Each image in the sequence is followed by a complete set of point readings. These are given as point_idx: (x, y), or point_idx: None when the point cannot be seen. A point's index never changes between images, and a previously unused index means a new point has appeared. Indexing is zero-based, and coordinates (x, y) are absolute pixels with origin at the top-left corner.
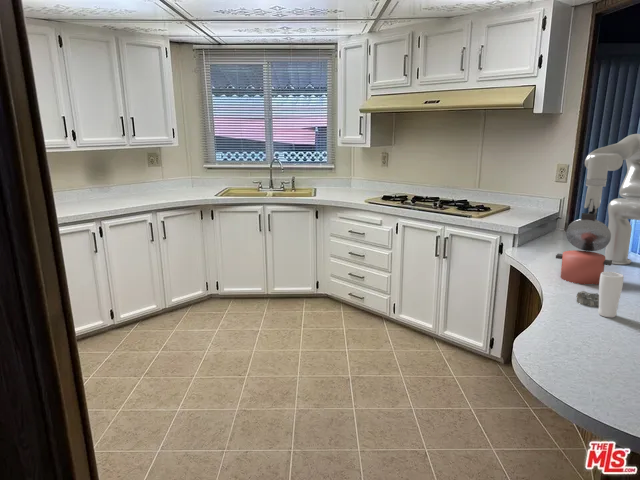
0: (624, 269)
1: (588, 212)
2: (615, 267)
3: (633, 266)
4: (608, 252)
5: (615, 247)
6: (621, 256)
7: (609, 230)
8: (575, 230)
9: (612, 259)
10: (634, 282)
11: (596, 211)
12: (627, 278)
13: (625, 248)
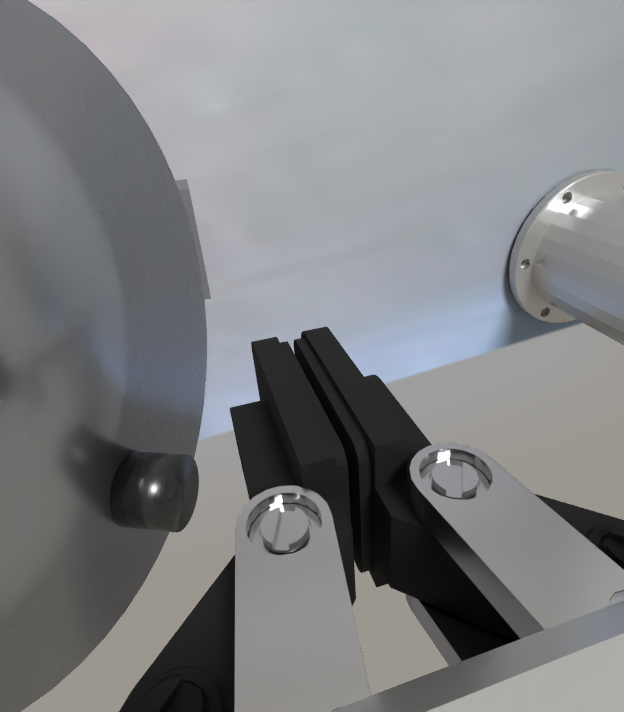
0: (429, 332)
1: (235, 590)
2: (447, 288)
3: (508, 341)
4: (590, 236)
5: (603, 290)
6: (559, 302)
7: (94, 636)
8: None
9: (543, 254)
10: (207, 437)
11: (468, 653)
12: (258, 396)
13: (606, 335)
